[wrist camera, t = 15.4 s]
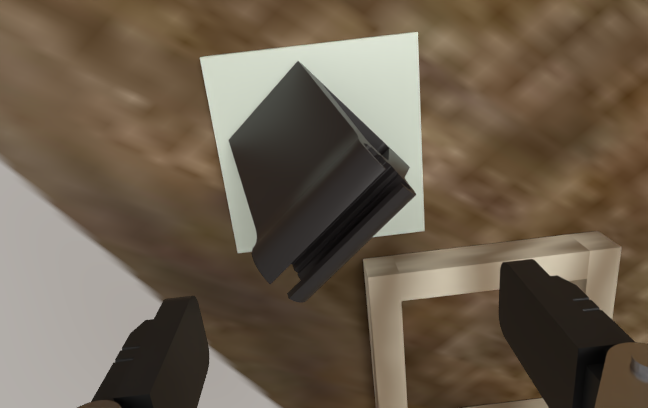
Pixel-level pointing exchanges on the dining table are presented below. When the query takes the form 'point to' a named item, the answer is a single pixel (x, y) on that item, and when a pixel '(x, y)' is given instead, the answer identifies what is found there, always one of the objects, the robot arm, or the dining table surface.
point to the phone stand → (314, 181)
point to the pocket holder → (467, 277)
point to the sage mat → (347, 85)
